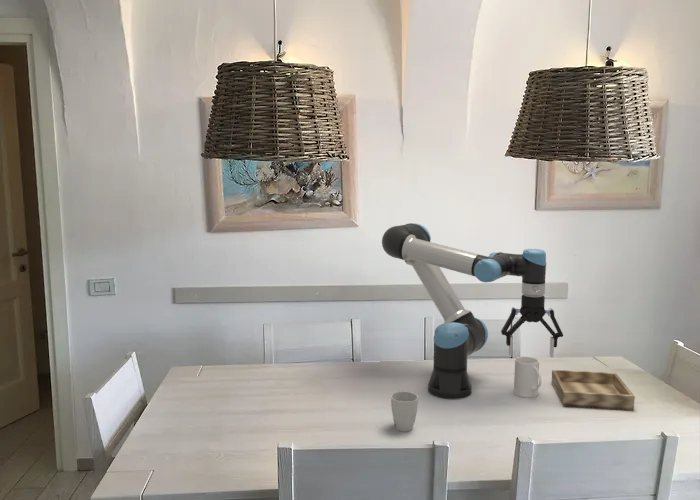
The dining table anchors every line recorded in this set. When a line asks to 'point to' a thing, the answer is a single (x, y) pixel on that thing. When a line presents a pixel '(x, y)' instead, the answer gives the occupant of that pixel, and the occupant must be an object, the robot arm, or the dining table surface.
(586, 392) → the tray
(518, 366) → the mug
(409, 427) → the cup
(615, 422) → the dining table surface
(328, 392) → the dining table surface
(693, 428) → the dining table surface
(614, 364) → the dining table surface
